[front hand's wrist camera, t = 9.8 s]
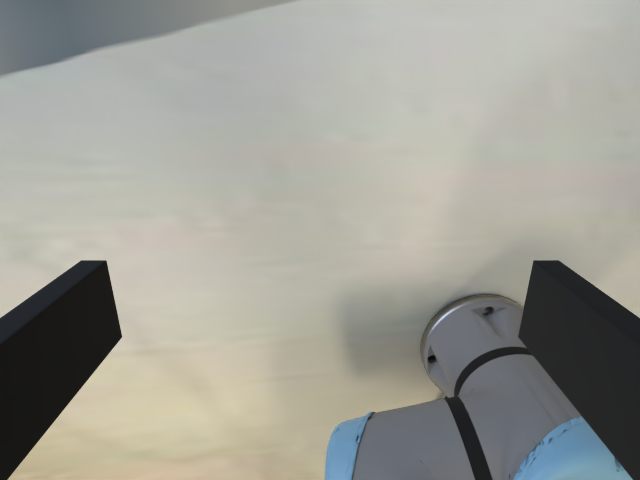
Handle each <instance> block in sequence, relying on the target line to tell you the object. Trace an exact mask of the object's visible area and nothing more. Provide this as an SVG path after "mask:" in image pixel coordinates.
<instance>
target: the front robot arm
mask: <svg viewBox="0 0 640 480" xmlns="http://www.w3.org/2000/svg"><path fill="white" fill-rule="evenodd" d="M121 338H122V334H121V329H120V325H119V320H118V315H117V310H116V305H115V300H114V295H113V291H112V286H111V281H110V276H109V271H108V266H107V261H80V262H79V263H77V264H76V265H74V266H73V267H72V268H70V269H69V270H67V271H66V272H65V273H63V274H62V275H60V276H59V277H58V278H56V279H55V280H53V281H52V282H51V283H49V284H48V285H46V286H45V287H44V288H42V289H41V290H39V291H38V292H37V293H35V294H34V295H32V296H31V297H29V298H28V299H27V300H25V301H24V302H22V303H21V304H20V305H18V306H17V307H15V308H14V309H13V310H11V311H10V312H8V313H7V314H6V315H4V316H3V317H1V318H0V480H7V479H8V478H9V477H10V476H11V474H12V473H13V472H14V471H15V469H16V468H17V467H18V466H19V464H20V463H21V462H22V461H23V459H24V458H25V457H26V456H27V454H28V453H29V452H30V451H31V449H32V448H33V447H34V446H35V445H36V443H37V442H38V441H39V440H40V438H41V437H42V436H43V435H44V433H45V432H46V431H47V430H48V428H49V427H50V426H51V425H52V423H53V422H54V421H55V420H56V418H57V417H58V416H59V415H60V413H61V412H62V411H63V410H64V408H65V407H66V406H67V405H68V403H69V402H70V401H71V400H72V399H73V397H74V396H75V395H76V394H77V392H78V391H79V390H80V389H81V387H82V386H83V385H84V384H85V382H86V381H87V380H88V379H89V377H90V376H91V375H92V374H93V372H94V371H95V370H96V369H97V367H98V366H99V365H100V364H101V362H102V361H103V360H104V359H105V357H106V356H107V355H108V354H109V353H110V351H111V350H112V349H113V348H114V346H115V345H116V344H117V343H118V341H119V340H120V339H121ZM421 357H422V361H423V364H424V366H425V369H426V372H427V374H428V376H429V377H430V379H431V380H432V382H433V383H434V384H435V385H436V386H437V387H438V388H439V389H440V390H441V391H442V392H443V393H444V394H445V395H446V397H445V398H444V399H439V400H435V401H430V402H426V403H421V404H417V405H412V406H408V407H403V408H398V409H393V410H388V411H383V412H378V413H376V412H370V413H368V414H367V415H366V416H363V417H360V418H356V419H352V420H348V421H345V422H342V423H341V424H339V425H338V426H337V427H336V428H335V429H334V431H333V433H332V435H331V438H330V440H329V443H328V448H327V455H326V466H325V480H640V318H639V317H637V316H636V315H634V314H633V313H632V312H630V311H629V310H627V309H626V308H625V307H623V306H622V305H620V304H619V303H618V302H616V301H615V300H613V299H612V298H611V297H609V296H608V295H606V294H605V293H603V292H602V291H601V290H599V289H598V288H596V287H595V286H594V285H592V284H591V283H589V282H588V281H587V280H585V279H584V278H582V277H581V276H580V275H578V274H577V273H575V272H574V271H573V270H571V269H570V268H568V267H567V266H566V265H564V264H563V263H561V262H560V261H533V266H532V271H531V276H530V281H529V286H528V291H527V295H526V300H525V305H524V308H523V307H521V306H520V305H519V304H517V303H516V302H514V301H512V300H510V299H508V298H505V297H501V296H497V295H475V296H470V297H466V298H463V299H460V300H458V301H455V302H453V303H451V304H450V305H448V306H446V307H445V308H444V309H442V310H441V311H440V312H439V313H438V314H437V315H436V316H435V317H434V318H433V319H432V320H431V321H430V323H429V324H428V326H427V328H426V329H425V332H424V334H423V337H422V341H421Z"/></svg>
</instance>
